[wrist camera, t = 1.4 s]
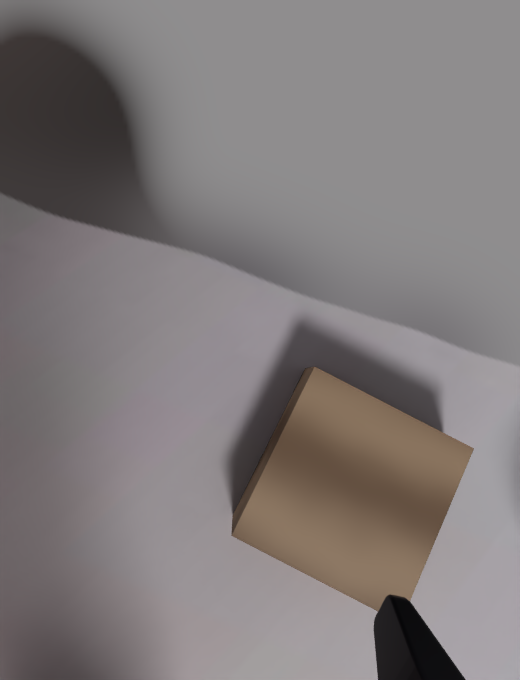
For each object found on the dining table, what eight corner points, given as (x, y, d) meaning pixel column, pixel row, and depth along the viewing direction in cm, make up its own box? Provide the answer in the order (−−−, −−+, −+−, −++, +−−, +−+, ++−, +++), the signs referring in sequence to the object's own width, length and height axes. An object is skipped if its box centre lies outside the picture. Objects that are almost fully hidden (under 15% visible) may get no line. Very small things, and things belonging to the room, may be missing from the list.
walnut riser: (379, 591, 23) (400, 623, 20) (232, 515, 23) (231, 535, 20) (444, 440, 24) (473, 448, 21) (305, 368, 24) (314, 366, 21)
